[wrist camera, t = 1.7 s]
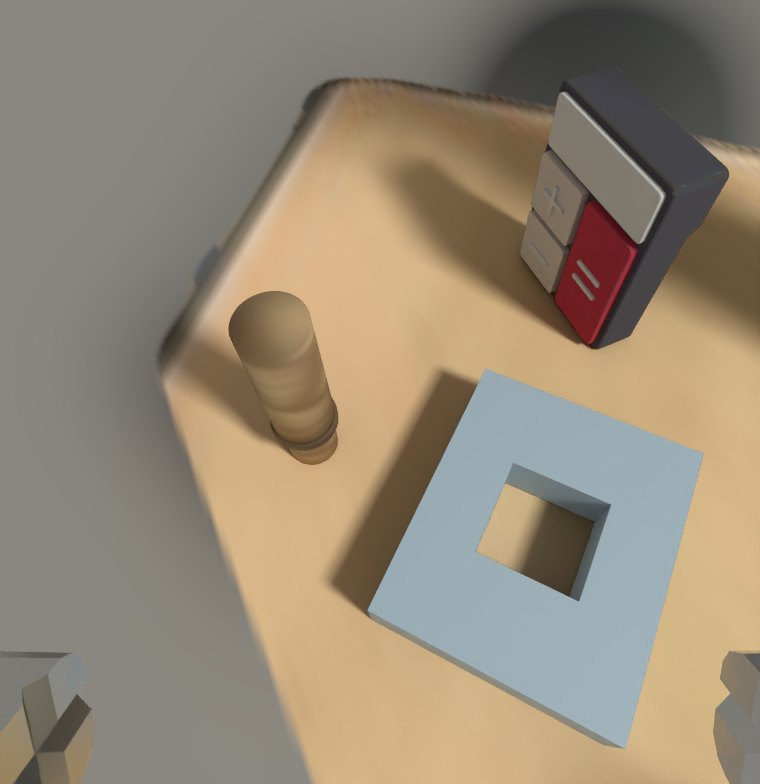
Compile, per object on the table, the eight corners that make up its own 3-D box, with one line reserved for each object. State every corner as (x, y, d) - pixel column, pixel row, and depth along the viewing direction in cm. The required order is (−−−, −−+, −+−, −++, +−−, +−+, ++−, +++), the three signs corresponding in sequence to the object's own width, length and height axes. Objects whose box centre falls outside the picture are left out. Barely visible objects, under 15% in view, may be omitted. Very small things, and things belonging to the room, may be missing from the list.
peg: (302, 405, 42) (256, 278, 29) (355, 428, 40) (329, 306, 28) (271, 455, 40) (208, 341, 28) (324, 480, 39) (283, 374, 26)
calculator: (512, 254, 47) (550, 81, 34) (558, 238, 48) (612, 61, 35) (586, 356, 42) (664, 197, 29) (636, 336, 43) (734, 171, 30)
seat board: (480, 394, 41) (485, 368, 38) (680, 474, 38) (703, 453, 34) (371, 619, 34) (367, 610, 31) (604, 745, 31) (625, 748, 27)
